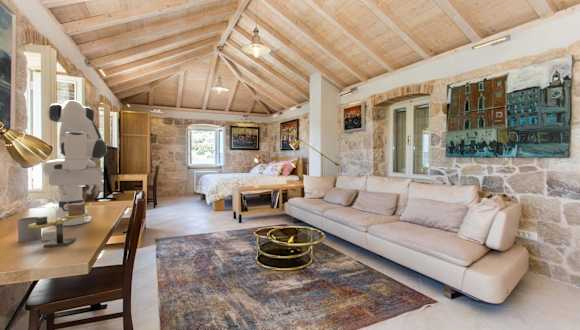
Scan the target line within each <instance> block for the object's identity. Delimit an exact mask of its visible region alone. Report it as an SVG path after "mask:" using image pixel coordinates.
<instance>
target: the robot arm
mask: <svg viewBox="0 0 580 330" xmlns="http://www.w3.org/2000/svg"><path fill="white" fill-rule="evenodd" d="M46 113H47V117H48V118H49V120H50V121H52V122H55V123H60V128H59V139H58V140H59V146H58V147H59V149H60V154H62V156H64V159H51V160H50V159H49V160H47V161H45V163H44V164H43V165H42V170H43V173H44V175H45V176H46V177H48V184H49V185H50V186H57V188H58V195H59V200H58V203H57V204H58V208H57V209H56V210H55V216H54V219H55V220H54V222H56V220H57V219H63V220H64V219H68V218H65V215H67V214H68V205H70V204H72V203H85V198H83V187H82V186H88V187H89V188H88V189H87V190H86V191H85V194H86V195H91V194H92V189H93V188H94V186H95V185H96V186H98V185H102V183H103V177H102V174H103V168H102V167H101V166H99V165H97V164H96V163H95V162H94V161H93V160H92V159H96V160H98V159H99V160H100V159H102V158H103V157H105V156H106V154H107V151H108V148H107V147H108V146H107V145H106V142H105V141H104V140H103V138H102V135H101V133H100V131H99V129H98V127H97V125H96V123H95V122H94V121H95V120H96V113H95V111H94V108H91V107H90V106H83V104H82V103H81V102H79V101H78V100H74V99H70V100H66V101H64V102H63V104H62V103H60V104H59V103H51V104H50V105H49V107H48V108H47V112H46ZM87 135H88V136H89V137H90V139H89V138H88V139H87ZM85 213H88V208H86V207H85ZM92 218H93V217H92V216H90V215H88V216H85V217H79V218H77V219H73V220H70V221H66V222H64V223H63V227H64V226H67V227H68V226H75V225H81V224H87V223H90V222H91V221H92ZM55 225H56V224H55ZM55 225H54V226H55Z"/></svg>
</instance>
